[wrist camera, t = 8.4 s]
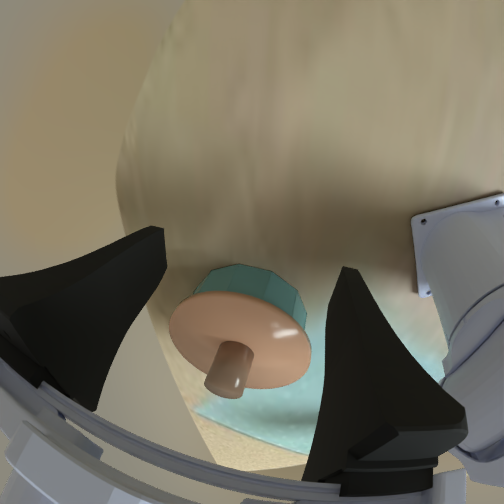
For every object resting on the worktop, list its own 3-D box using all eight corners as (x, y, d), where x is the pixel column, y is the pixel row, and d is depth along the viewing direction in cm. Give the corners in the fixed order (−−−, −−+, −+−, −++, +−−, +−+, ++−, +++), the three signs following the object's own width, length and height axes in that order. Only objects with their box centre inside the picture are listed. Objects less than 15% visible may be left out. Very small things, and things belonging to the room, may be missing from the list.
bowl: (281, 253, 23) (272, 285, 19) (317, 339, 27) (313, 371, 24) (178, 277, 27) (160, 304, 24) (227, 348, 32) (217, 375, 28)
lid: (333, 317, 20) (330, 371, 16) (289, 393, 27) (281, 431, 24) (169, 271, 21) (138, 313, 17) (176, 359, 29) (158, 393, 25)
